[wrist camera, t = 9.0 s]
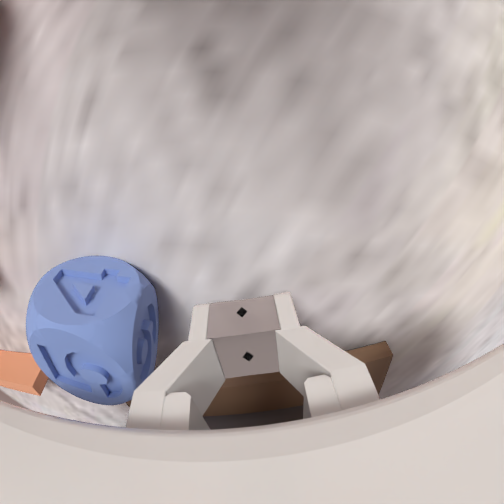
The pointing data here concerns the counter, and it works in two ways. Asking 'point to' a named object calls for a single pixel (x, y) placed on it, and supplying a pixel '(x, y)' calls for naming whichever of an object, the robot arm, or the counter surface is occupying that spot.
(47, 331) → the decorative dice
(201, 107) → the counter surface
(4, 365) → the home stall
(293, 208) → the counter surface
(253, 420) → the board
